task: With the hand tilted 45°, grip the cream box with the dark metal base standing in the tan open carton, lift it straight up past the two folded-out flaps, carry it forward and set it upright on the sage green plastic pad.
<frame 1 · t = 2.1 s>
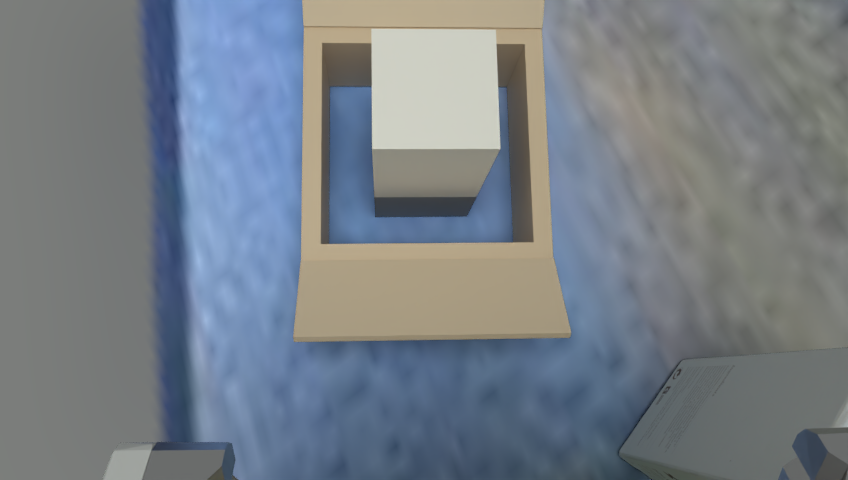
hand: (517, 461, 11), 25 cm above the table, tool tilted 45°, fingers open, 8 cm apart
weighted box: (420, 172, 38), resting in carton
carton: (420, 172, 38), on the table
skincare box: (718, 456, 36), on the table
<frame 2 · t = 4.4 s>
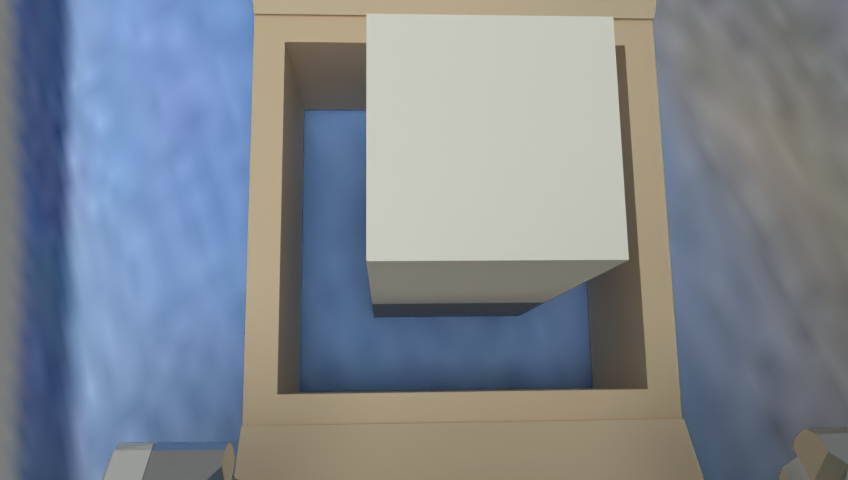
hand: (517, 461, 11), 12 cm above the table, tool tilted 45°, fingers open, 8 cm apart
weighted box: (444, 245, 24), resting in carton
carton: (445, 245, 24), on the table
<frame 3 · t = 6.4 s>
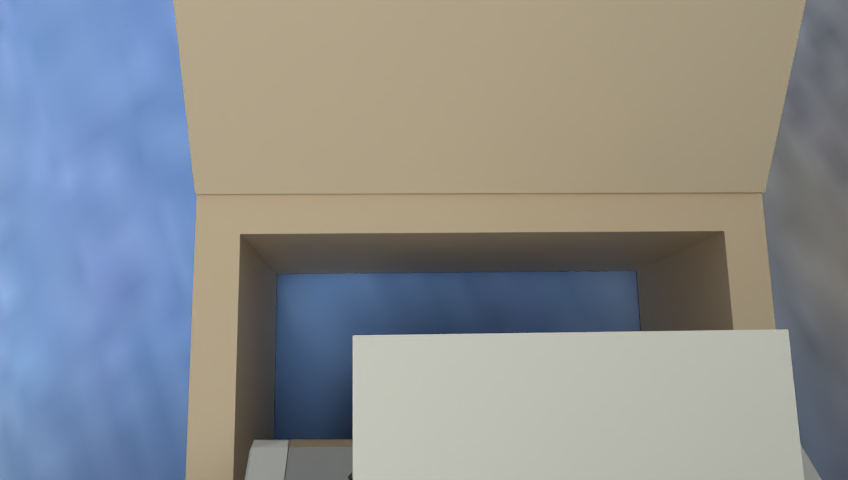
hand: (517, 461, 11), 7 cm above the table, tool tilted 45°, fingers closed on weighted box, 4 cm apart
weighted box: (464, 459, 18), resting in carton, touching gripper
carton: (464, 459, 18), on the table
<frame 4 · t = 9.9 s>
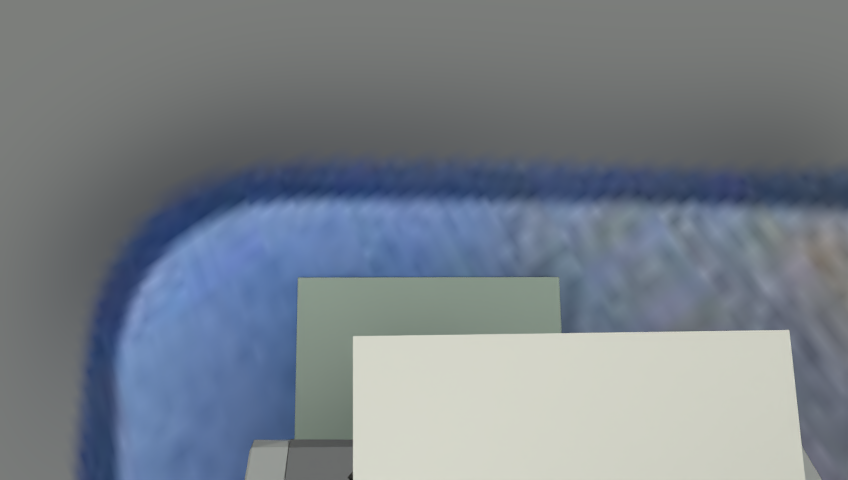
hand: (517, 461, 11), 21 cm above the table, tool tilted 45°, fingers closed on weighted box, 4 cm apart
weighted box: (463, 459, 18), point 14 cm above the table, touching gripper
pad: (429, 410, 32), on the table
when the fingers open (10 cm above the table, at t = 13.2 s): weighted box drops 1 cm, resting on pad.
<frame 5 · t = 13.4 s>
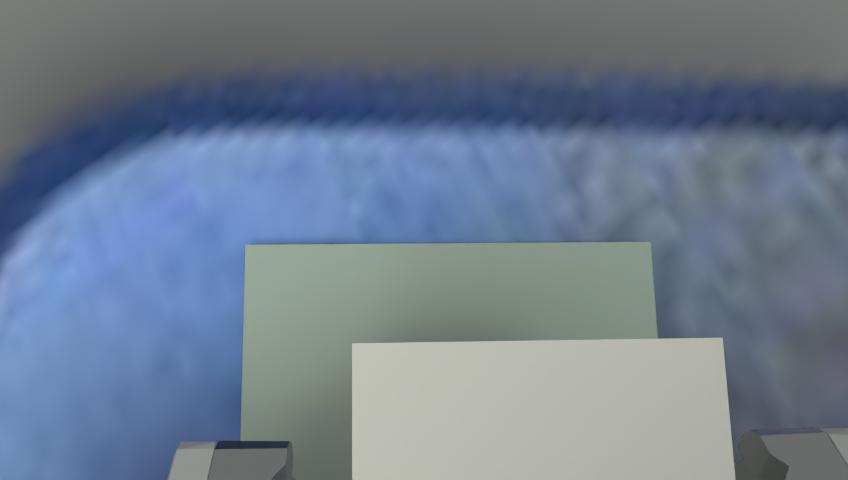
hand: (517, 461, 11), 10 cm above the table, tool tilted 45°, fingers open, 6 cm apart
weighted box: (459, 453, 20), point 1 cm above the table, touching pad
pad: (452, 450, 21), on the table
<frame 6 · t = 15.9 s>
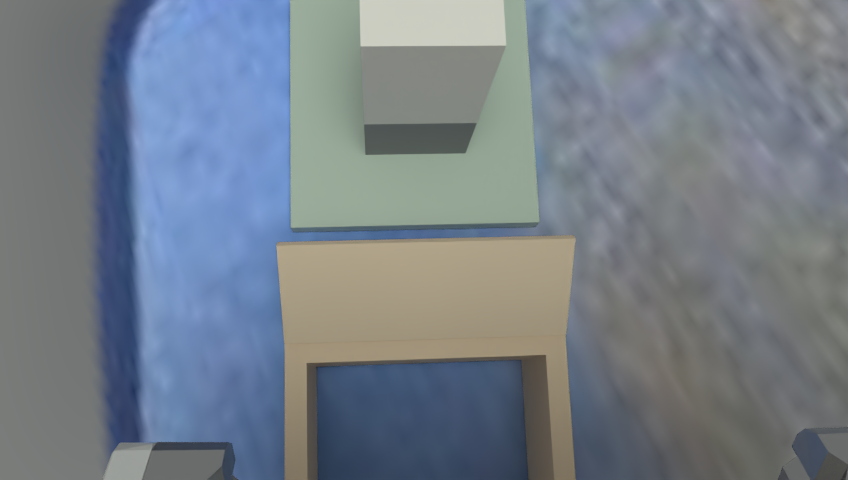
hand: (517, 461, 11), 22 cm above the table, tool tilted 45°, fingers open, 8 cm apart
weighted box: (413, 106, 35), point 1 cm above the table, touching pad
carton: (423, 469, 33), on the table
pad: (411, 114, 36), on the table
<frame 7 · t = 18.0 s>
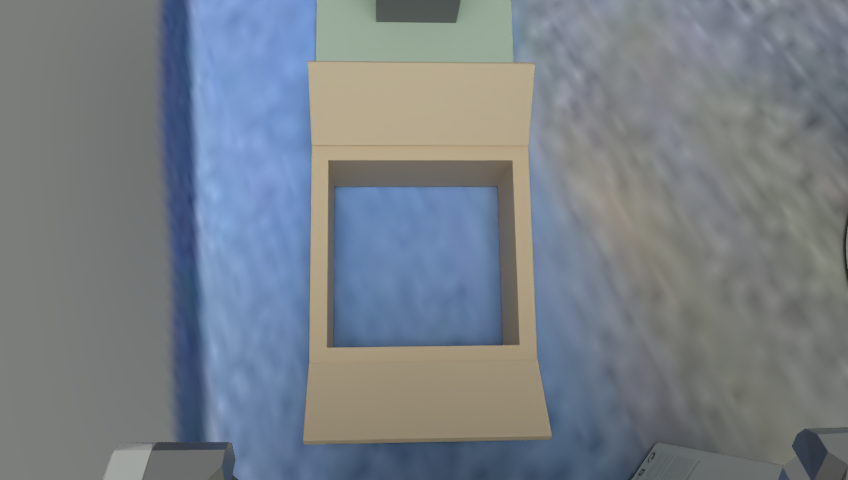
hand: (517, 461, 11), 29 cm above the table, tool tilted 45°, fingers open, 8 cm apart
carton: (417, 267, 41), on the table
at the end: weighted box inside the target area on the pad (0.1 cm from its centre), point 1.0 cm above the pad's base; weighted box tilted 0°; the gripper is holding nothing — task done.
